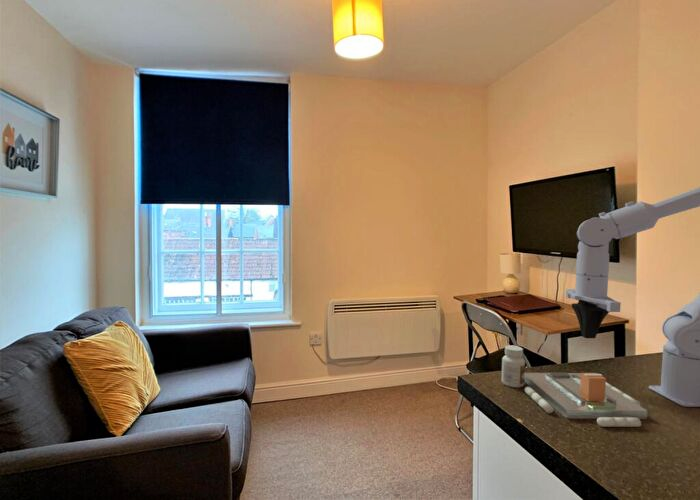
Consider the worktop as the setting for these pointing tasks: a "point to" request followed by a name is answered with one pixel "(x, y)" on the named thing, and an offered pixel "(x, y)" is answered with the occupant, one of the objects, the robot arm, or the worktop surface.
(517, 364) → the pill bottle
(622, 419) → the rod
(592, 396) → the lever
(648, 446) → the worktop surface
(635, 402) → the cable near base
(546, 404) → the rod
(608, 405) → the breaker panel
